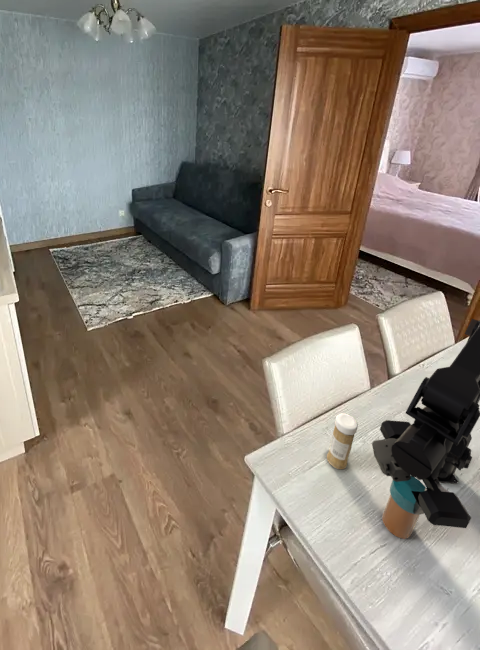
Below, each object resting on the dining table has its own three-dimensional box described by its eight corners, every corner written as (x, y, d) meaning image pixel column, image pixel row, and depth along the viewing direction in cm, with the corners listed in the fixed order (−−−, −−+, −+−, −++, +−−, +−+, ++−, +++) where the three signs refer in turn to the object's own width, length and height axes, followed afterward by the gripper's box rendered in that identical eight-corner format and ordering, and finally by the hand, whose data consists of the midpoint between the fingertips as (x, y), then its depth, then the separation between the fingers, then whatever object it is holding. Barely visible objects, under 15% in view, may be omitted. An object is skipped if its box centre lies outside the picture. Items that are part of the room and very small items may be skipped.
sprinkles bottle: (350, 463, 83) (362, 423, 78) (339, 473, 81) (350, 432, 76) (333, 448, 87) (343, 409, 82) (322, 458, 84) (332, 418, 79)
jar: (403, 511, 73) (416, 478, 69) (416, 540, 69) (432, 506, 65) (377, 509, 74) (389, 476, 70) (389, 537, 69) (403, 503, 65)
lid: (384, 480, 71) (387, 471, 70) (414, 483, 71) (418, 474, 70) (399, 512, 65) (402, 503, 64) (432, 516, 65) (436, 506, 64)
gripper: (362, 396, 71) (347, 449, 77) (411, 488, 54) (387, 547, 60) (419, 400, 70) (399, 453, 76) (487, 495, 53) (455, 555, 59)
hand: (407, 496), depth 68 cm, fingers closed on lid, 6 cm apart
